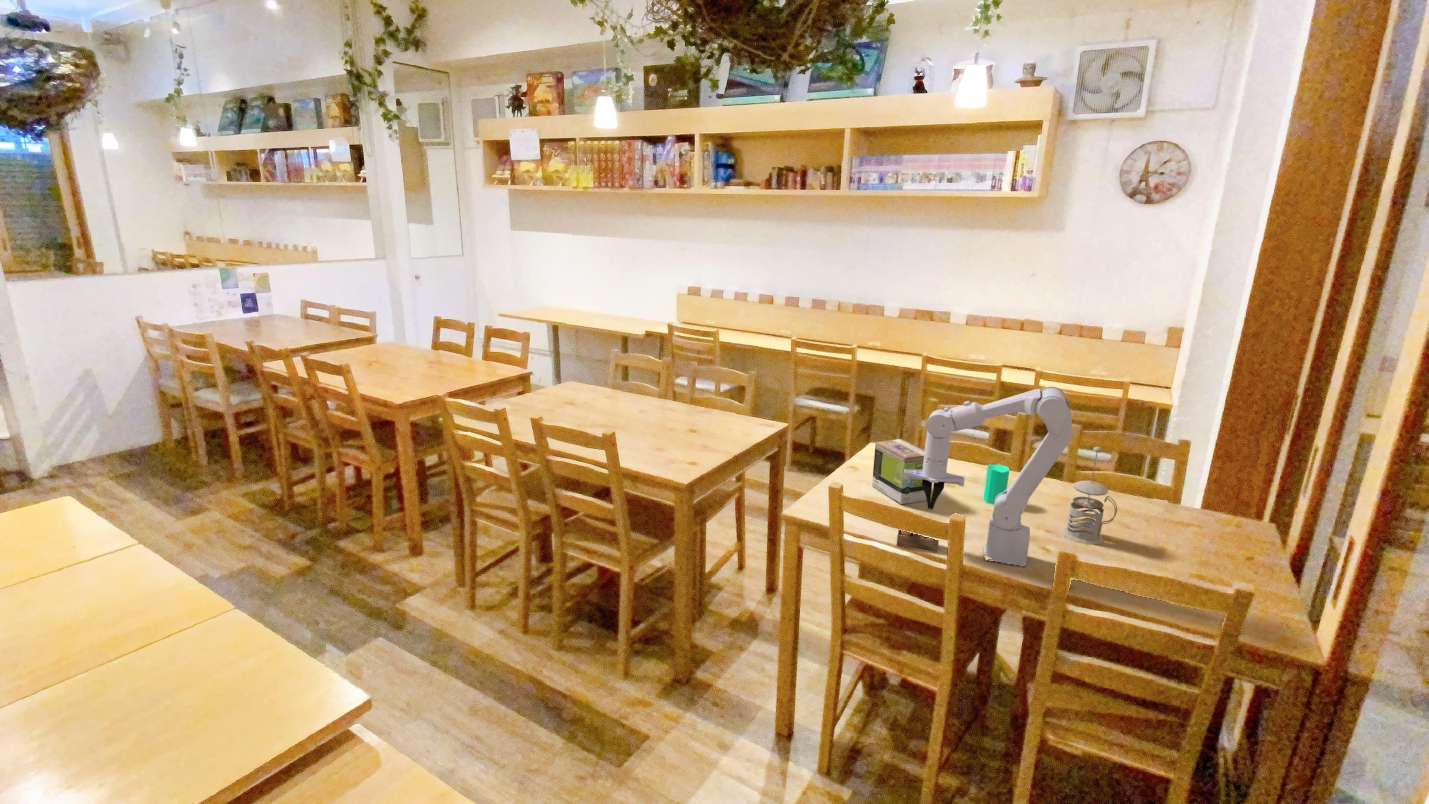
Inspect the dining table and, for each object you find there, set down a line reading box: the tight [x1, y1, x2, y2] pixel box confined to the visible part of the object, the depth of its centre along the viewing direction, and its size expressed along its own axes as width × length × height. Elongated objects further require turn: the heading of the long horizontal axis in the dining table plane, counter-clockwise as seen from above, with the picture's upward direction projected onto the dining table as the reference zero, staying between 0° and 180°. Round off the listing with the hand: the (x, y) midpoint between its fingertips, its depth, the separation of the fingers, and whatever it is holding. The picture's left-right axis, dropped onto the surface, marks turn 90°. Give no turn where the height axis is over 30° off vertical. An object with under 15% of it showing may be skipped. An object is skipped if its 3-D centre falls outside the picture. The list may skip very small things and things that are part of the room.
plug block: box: [896, 529, 940, 553], centre depth 177 cm, size 10×4×3 cm, turn 71°
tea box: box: [871, 438, 927, 505], centre depth 206 cm, size 15×10×15 cm, turn 22°
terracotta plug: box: [901, 530, 911, 536], centre depth 177 cm, size 4×4×4 cm
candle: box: [982, 464, 1010, 506], centre depth 202 cm, size 6×6×12 cm
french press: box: [1061, 446, 1118, 545], centre depth 179 cm, size 10×12×25 cm
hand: (930, 507), depth 176 cm, fingers closed
